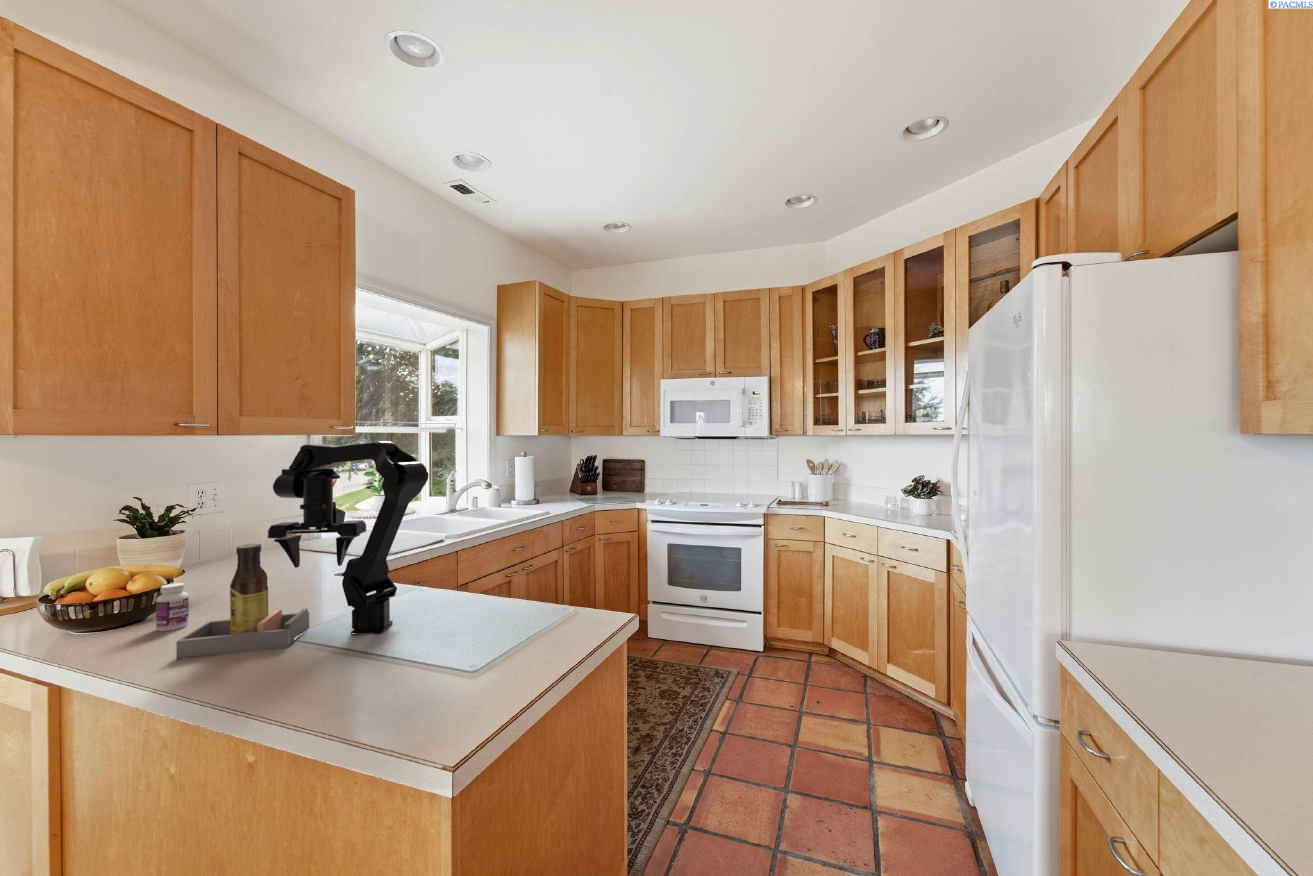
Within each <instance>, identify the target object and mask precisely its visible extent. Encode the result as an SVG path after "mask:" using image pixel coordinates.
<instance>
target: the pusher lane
mask: <svg viewBox="0 0 1313 876" xmlns="http://www.w3.org/2000/svg"><path fill="white" fill-rule="evenodd" d="M269 615H270V614H268V616H269ZM309 628H310V611H309V609H308V608H302V609H301V610H300V611H298V612H291V613H282V629H280V630H270V631H260V632H250V633H240V634H231V621H230V618H227V619H215V620H214V619H213V620H210V621H207V622H206V623H204V624H203V625H201V626H199V627H197V629H195V630H193V631H191V632H189V633H188V634H186V635H184V636H183V637H181V638H179V639H177V640H176V642H175V643H176V649H175V650H176V651H175V652H176V660H177V659H179V660H184V659H183V658H188V659H194V658H205V657H204V656H206V657H214V656H223V655H231V654H241V653H249V652H251V651H252V652H257V651H258V652H259V651H267V650H268V651H270V650H278V649H287V648H286V647H288V648H289V647H290V646H292V645H293V644H294V643H293V642H294V638H295V637H296V636H298V635H300V634H301V633H303V632H304V631H305V632H306V631H307V630H308V629H309ZM305 632H304V633H305ZM304 633H303V634H304Z"/></svg>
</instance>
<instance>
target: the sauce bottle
mask: <svg viewBox="0 0 1313 876" xmlns="http://www.w3.org/2000/svg"><path fill="white" fill-rule="evenodd" d="M261 551H262V544H261V543H247V544H242V545H238V546H236V552H235V553H236V555H237V565H236V567H237V568H236V570H235V572H234V575H233V577H232V580H231V583H230V585H229V597H230V598H229V600H230V601H229V604H230V618H229V619H230V621H231V634H240V633H250V632H257V624H258V623H259V622H261V621H262V620H263V619H265V618H266V617H267V616H268V615H269V586H268V575H267V572H266V571H265V570H264V568H262V566H261Z"/></svg>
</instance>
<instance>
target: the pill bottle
mask: <svg viewBox="0 0 1313 876" xmlns="http://www.w3.org/2000/svg"><path fill="white" fill-rule="evenodd" d="M185 586H186V585H185V582H175V583H170V584H164V585H161V586H160V594H161V595H159V596H158V597H157V598H156V600H155V605H156V606H155V610H156V612H155V614H156V615H155V622H156V623H155V625H156V630H157V631H158V632H169V631H170V630H171V631H175V630H174V629H176V630H179V628H180V629H182V628H185V627H187V626H188V625H189V615H190V614H189V612H190V611H189V610H190V609H189V608H190V607H189V606H190V605H189V603H190V602H189V601H190V600H189V598H190V595H189V593H188V592H187V591H185V589H186V587H185ZM171 631H170V632H171Z"/></svg>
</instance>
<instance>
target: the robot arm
mask: <svg viewBox="0 0 1313 876" xmlns="http://www.w3.org/2000/svg"><path fill="white" fill-rule="evenodd" d="M369 460H372V461H374V465H375V470H376V472H377V473H378V475H380V476H381V478H383V480H382V485H381V488H382V491H383V492H382V493H383V495H384V499H383V501H382V503H381V507H380V509H379V512H378V514H377V517H376V519H375V522H374V524H373V526H372V529H371V531H370V534H369V536H368V539H367V541H366V545H365V546H364V549H363V552H362V553H361V555H360V556H357V557H355V558H350V559H349V560H348V561H347V563H346V567H345V570H344V571H343V572H342V574H341V577H343V578H342V581H341V586H342V590H343V592H344V596H345V599H346V603H347V606H348V607H352V608H353V609H352V611H351V629H352V630H351V631H350V634H351V633H368V634H380V633H381V632H382V633H384V632H385V631H386V629H388V628H389V627H390V626H391V625H392V624H394V623H393V620H391V617H390V613H391V610H390V607H391V606H390V599H391V598H393V597H395V596H396V594H397V590H398V587H397V586H396V585H395V583H394V582H393V581H392V580H391V578H390V577H389V576H388V575H389V571H390V569H389V565H388V561H387V559H388V555H389V554H390V551H391V548H392V545H393V544H394V541H395V538H396V536H397V533H398V531H399V529H400V526H401V523H402V521H403V518H404V517H405V514H406V511H407V508H408V506H409V504H410V503H411V501H413V500H414V499H415V498H416V497H417V496H418V495H419V494H420V493H421V492H422V490H423V489H424V487H425V485H426V484H427V482H428V480H429V472H428V470H427V467H426V465H425V464H424V463H423V462H419V461H418V460H417V458H416V457H415V456H413V455H411V454H409V453H408V452H407V451H405V450H403V449H402V448H400V447H399V446H398V445H397V443H394V442H393V441H390V440H374V441H372V442H369V443H368V442H365V443H358V444H350V445H339V444H338V445H337V444H329V443H327V444H304V445H301V446H300V448H299V451H298V452H297V454H296V455H295V457H294V459H293V461H292V463H291V464H290V465H289V467H288V468H285V469H283V468H281V474H280V475H278V476H277V477H276V478H275V480H274V482H273V483H272V490H273V492H274V494H275V495H276V496H277V497H279V498H284V499H287V498H288V499H302V504H300V505H299V510H302V512H303V517H302V518H303V521H302V522H301V523H299V521H288V522H287V521H285V522H279V523H275V524H271V525H270V527H269V528H268V530H267V538H268V539H274V540H273V541H274V543H278V544H279V545H280V547H281V548H282V549H283V550H284V551H285V553H286V555H287V556H288V558H289V560H290V561H291V564H293V567H294V568H299V567H300V565H301V564H300V562H301V555H300V553H301V552H300V541H301V539H302V536H303V535H302V534H327V533H328V534H329V533H330V534H331V533H336V534H338V535H339V536H338V537H335V544H336V545H335V547H336V548H335V549H336V563H337V566H338V567H340V566H343V563H344V561H345V558H346V555H347V552H348V551H349V547H350V545H351V544H352V542H353V541H354V539H355V538H357V537H360V536H361V534H363V533H366V532H367V524H366V522H365V521H364V520H363V519H360V520H359V519H358V520H357V519H356V520H353V519H352V520H346V521H345V519H346V512H347V511H344V510H342V509H339V508H337V503H336V501H334V492H333V490H334V489H333V488H334V483H333V482H334V480H337V479H340V478H341V476H340V474H339V473H337V472H336V471H335V470H334V468H336V467H339V466H342V465H343V464H346V463H351V462H360V461H362V462H363V461H369ZM373 592H374V593H373ZM370 593H371V594H370Z"/></svg>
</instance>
